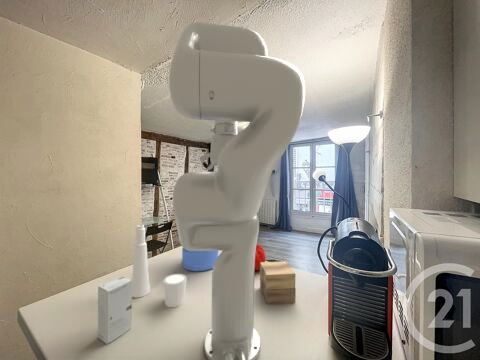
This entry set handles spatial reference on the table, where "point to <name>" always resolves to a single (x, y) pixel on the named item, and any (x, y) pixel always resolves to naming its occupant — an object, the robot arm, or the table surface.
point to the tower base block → (278, 294)
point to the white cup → (174, 289)
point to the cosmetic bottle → (140, 265)
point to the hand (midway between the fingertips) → (225, 182)
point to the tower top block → (277, 275)
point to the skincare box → (114, 309)
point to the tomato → (259, 257)
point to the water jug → (198, 259)
